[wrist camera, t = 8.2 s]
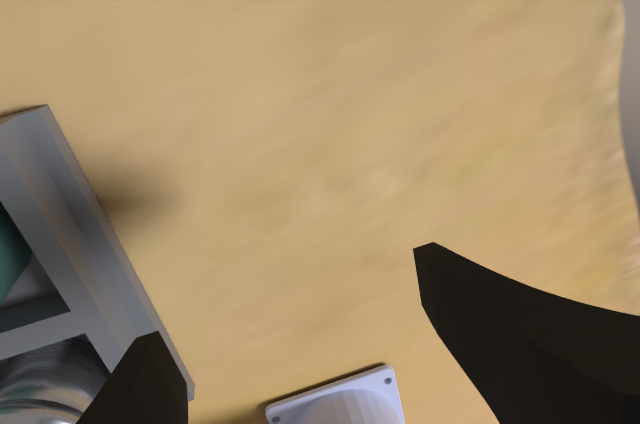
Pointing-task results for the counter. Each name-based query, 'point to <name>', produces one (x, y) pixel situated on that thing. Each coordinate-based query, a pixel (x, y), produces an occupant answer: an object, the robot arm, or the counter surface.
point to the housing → (62, 282)
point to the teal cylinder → (11, 253)
